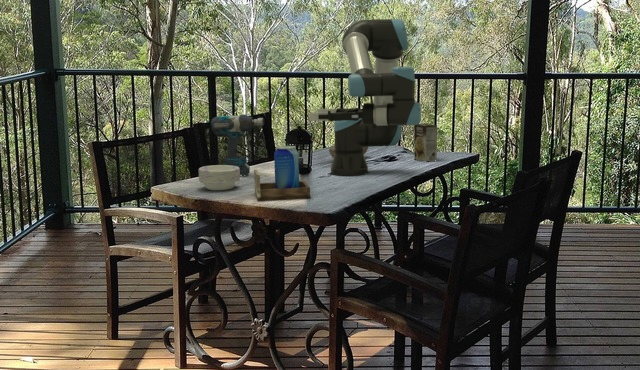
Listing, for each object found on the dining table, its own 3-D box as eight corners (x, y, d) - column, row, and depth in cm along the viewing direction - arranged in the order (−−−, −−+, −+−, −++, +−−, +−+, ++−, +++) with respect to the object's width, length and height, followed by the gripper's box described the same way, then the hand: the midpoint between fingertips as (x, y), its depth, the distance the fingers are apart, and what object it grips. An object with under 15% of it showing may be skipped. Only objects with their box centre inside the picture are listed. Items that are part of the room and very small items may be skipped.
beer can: (304, 191, 276) (302, 146, 273) (291, 195, 269) (290, 149, 266) (283, 189, 280) (282, 145, 277) (270, 193, 273) (269, 148, 270)
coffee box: (413, 160, 352) (413, 124, 349) (425, 158, 355) (425, 123, 352) (425, 162, 344) (425, 125, 341) (437, 161, 347) (437, 124, 344)
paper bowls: (247, 188, 291) (246, 167, 290) (209, 193, 283) (208, 172, 282) (229, 183, 304) (228, 163, 302) (193, 188, 296) (191, 167, 294)
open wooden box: (304, 191, 283) (304, 166, 282) (310, 198, 269) (309, 172, 268) (254, 193, 281) (253, 168, 279) (257, 201, 267) (256, 174, 265)
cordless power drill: (264, 177, 316) (261, 115, 312) (211, 176, 320) (207, 115, 316) (269, 174, 324) (267, 113, 319) (217, 173, 328) (214, 113, 324)
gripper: (379, 100, 277) (320, 100, 281) (369, 106, 253) (305, 106, 257) (379, 121, 278) (321, 121, 282) (370, 129, 254) (306, 129, 258)
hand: (313, 114), depth 270 cm, fingers open, 13 cm apart
